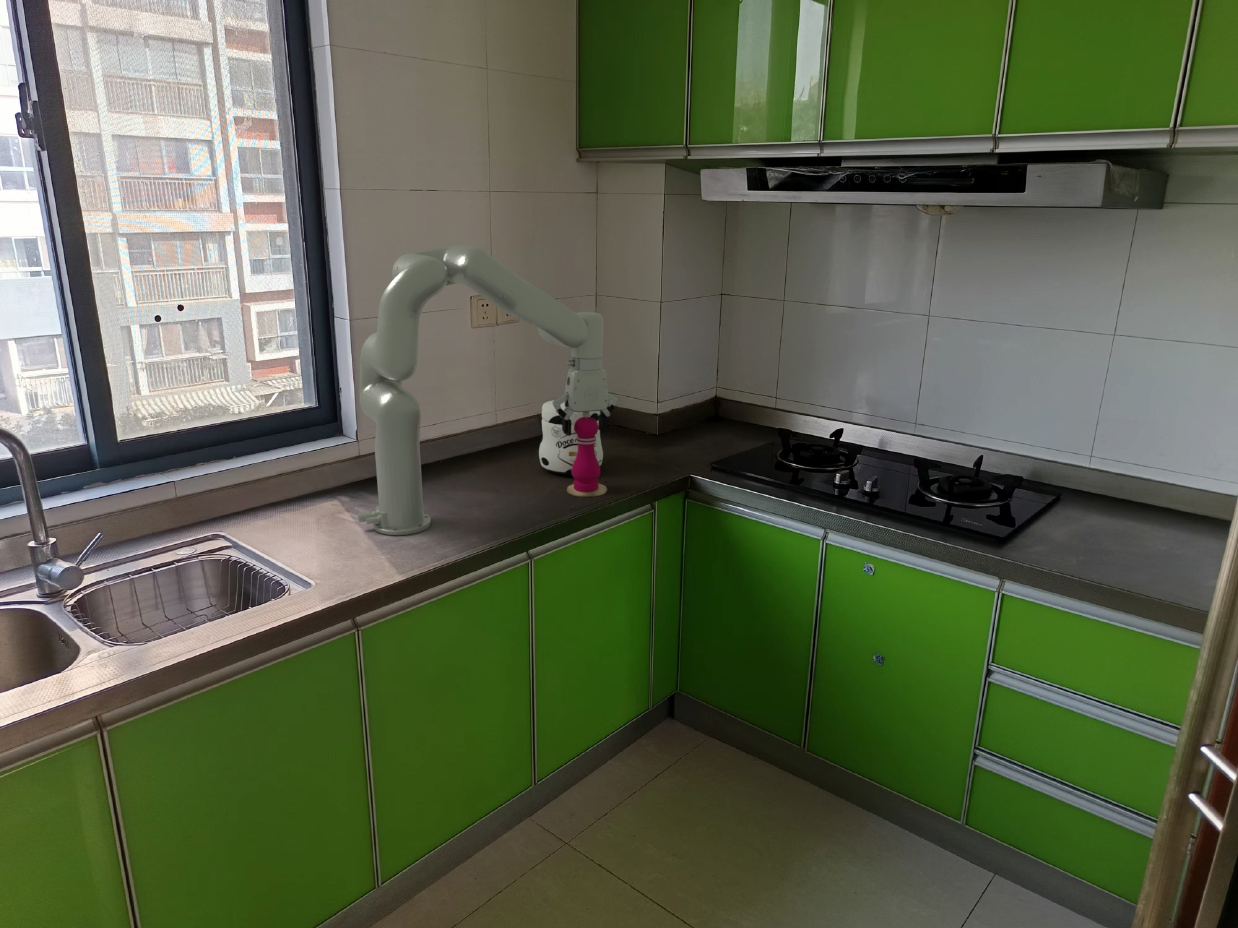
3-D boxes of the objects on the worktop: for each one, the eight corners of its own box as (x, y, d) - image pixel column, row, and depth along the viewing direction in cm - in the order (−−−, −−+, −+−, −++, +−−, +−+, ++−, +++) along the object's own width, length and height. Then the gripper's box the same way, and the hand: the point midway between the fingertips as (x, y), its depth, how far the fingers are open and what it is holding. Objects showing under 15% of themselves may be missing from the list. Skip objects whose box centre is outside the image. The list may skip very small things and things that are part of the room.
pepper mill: (605, 486, 225) (606, 410, 219) (590, 494, 219) (590, 416, 213) (581, 482, 229) (581, 406, 223) (566, 489, 223) (565, 412, 217)
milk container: (575, 483, 230) (575, 416, 224) (525, 471, 240) (524, 406, 234) (615, 468, 243) (616, 404, 238) (567, 457, 253) (567, 395, 248)
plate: (577, 499, 218) (577, 496, 218) (560, 487, 226) (560, 485, 226) (613, 493, 222) (613, 491, 222) (595, 482, 231) (595, 479, 231)
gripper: (560, 368, 208) (559, 439, 212) (625, 365, 216) (622, 433, 220) (547, 363, 214) (546, 432, 219) (611, 360, 222) (608, 426, 227)
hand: (584, 432), depth 219 cm, fingers open, 9 cm apart
